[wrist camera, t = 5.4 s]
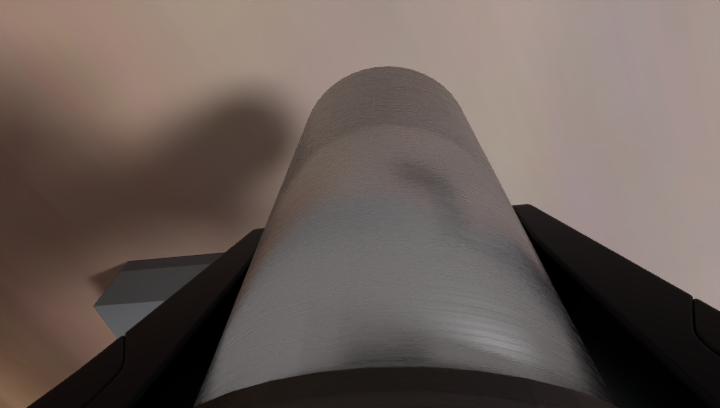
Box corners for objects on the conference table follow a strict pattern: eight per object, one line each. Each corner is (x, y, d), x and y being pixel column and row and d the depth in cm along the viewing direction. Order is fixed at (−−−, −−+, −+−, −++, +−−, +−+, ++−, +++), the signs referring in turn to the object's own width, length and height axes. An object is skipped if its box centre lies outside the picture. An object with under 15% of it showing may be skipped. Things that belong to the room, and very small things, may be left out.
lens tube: (482, 41, 10) (996, 498, 2) (476, 217, 13) (652, 691, 5) (273, 69, 11) (-101, 512, 2) (314, 231, 14) (216, 675, 5)
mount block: (388, 237, 25) (390, 282, 22) (408, 395, 35) (412, 443, 31) (128, 261, 27) (93, 306, 24) (217, 404, 37) (201, 450, 33)
